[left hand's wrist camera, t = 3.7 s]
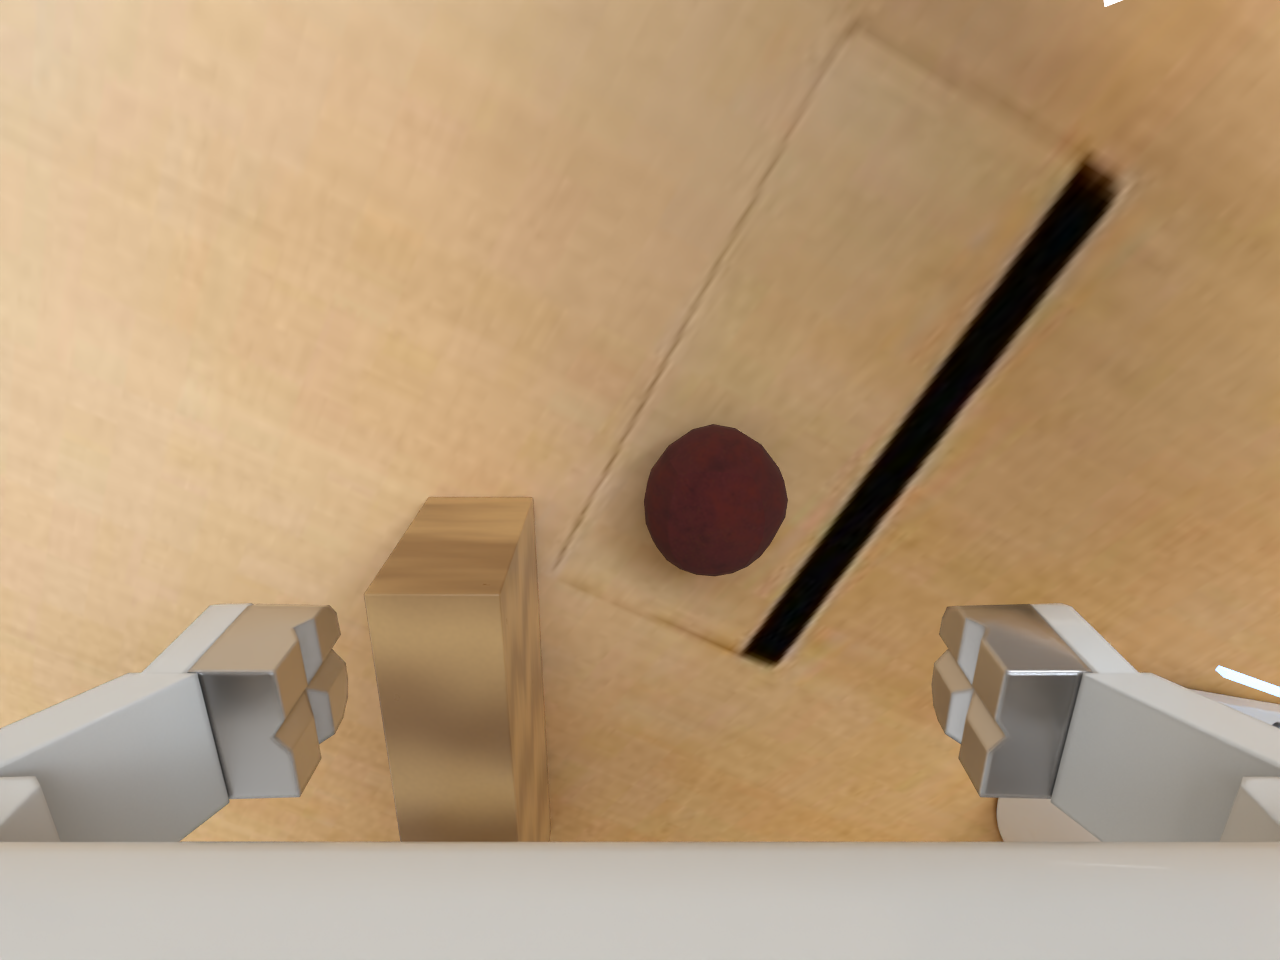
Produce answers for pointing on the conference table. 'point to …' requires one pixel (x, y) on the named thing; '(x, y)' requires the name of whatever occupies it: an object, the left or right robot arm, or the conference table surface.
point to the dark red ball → (714, 501)
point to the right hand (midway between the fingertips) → (489, 865)
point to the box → (463, 673)
